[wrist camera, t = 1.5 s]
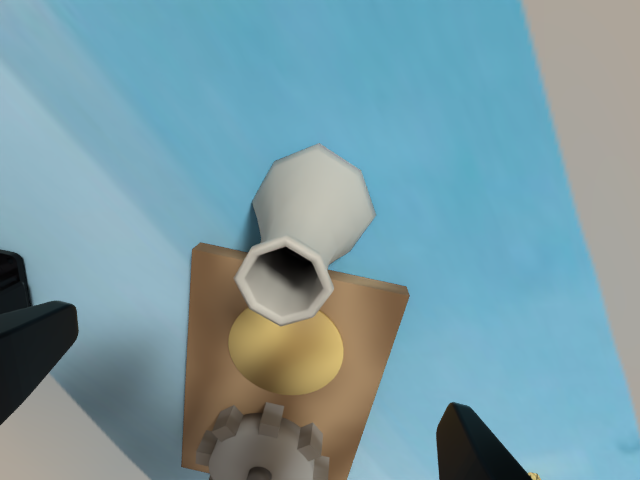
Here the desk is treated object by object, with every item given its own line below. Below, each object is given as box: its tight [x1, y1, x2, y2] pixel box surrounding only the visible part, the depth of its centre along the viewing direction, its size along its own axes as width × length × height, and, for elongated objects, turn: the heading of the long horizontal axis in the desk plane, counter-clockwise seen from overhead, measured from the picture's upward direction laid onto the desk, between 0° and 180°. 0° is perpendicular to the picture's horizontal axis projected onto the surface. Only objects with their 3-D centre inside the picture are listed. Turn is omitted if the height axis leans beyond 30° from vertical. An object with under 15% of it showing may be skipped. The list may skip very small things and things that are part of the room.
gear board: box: [181, 242, 409, 480], centre depth 23 cm, size 14×22×4 cm, turn 169°
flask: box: [233, 143, 376, 327], centre depth 15 cm, size 7×7×10 cm
